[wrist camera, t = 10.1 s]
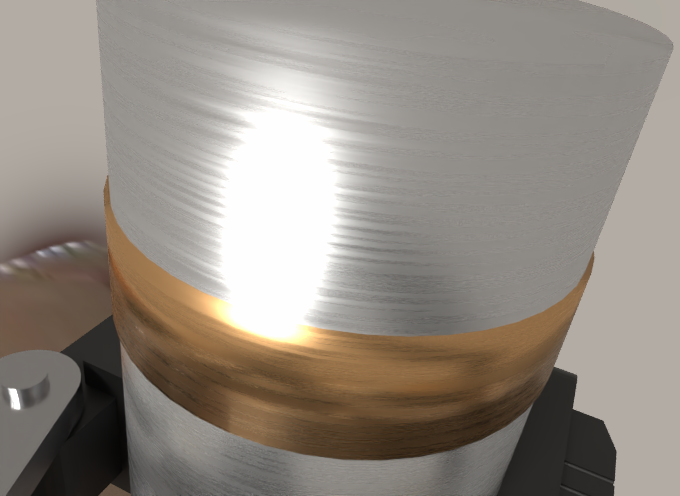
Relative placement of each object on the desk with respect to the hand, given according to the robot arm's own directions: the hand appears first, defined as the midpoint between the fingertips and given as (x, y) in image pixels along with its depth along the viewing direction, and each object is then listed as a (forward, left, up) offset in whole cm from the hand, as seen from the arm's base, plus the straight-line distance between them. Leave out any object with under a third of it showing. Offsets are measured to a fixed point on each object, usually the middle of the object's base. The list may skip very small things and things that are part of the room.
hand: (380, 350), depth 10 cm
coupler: (+1, +3, -8) cm, 8 cm away
